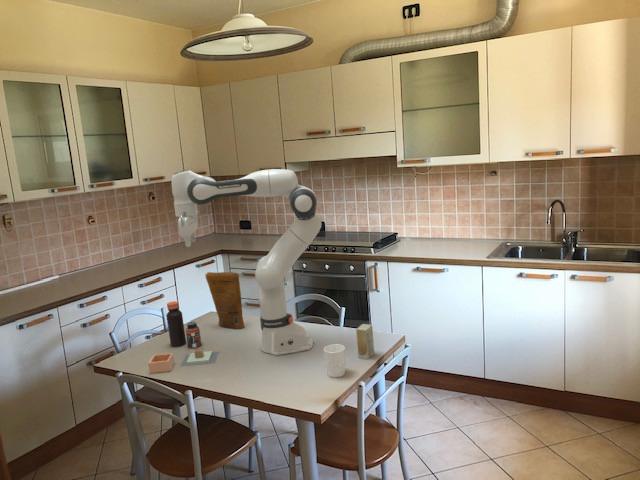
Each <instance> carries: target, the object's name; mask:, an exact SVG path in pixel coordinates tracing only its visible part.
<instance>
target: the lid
mask: <svg viewBox="0 0 640 480" xmlns="http://www.w3.org/2000/svg"><path fill="white" fill-rule="evenodd" d="M212 352H213V350H210V351H204V348H195V350H194V352H191V353H189V354H190V356H189V358H188V360H187V364H196V363H206V362H209V361H210V358H211V356H212Z"/></svg>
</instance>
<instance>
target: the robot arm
mask: <svg viewBox="0 0 640 480" xmlns="http://www.w3.org/2000/svg"><path fill="white" fill-rule="evenodd" d="M171 192H172V196H173V199H174V200H173V207H174V212H175V213H174V214H175V217H178V221H177V224H178V225H177V226H178V234H179V237H180V238H183V240H184V243H185V247H186V248H190V247H191V246H192V243H195V242H196V231H197V230H198V228H199V220H198V218H199V217H198V214H199V208H198V205H200V206H201V205H206V204H208V203H209V202H210V203H211V201H213V200H216V199H220V198H230V197H239V196H242V197H255V198H273V197H284V198H286V199H288V202H289V206H290V209H291V211H292V212H293V213H294V215H295V219H294V221H293V222H292V223H291V225H289V226H288V228H287V229H286V230H285V232H284V233H283V234H282V235H281V237H280V238H279V239H277V241H276V242H275V244H274V245H273V247H272V248H271V250H270V251H269V252H268V253H267V255H265V256H263V257H261V258H260V259H259V260H258V262H257V265H256V269H255V271H254V277H255V278H254V279H255V281H256V282H257V285H258V286H257V287H258V299H259V300H258V301H259V311H260V317H259V321H260V328H261V345H260V350H261V351H262V352H264V353H267V354H271V355H272V356H282V355H286V354H292V353H298V352H304V351H305V352H306V351H308V350H311V349H312V348H313V347H314V340H313V338H312V337H311V336H309V335H308V334H307V331H306V329H305V328H304V327H303V326H302V325H300V324H298V323H297V322H295V321H294V318H293V315H292V313H291V312H290V313H288V312H287V311H288V310H287V302H286V289H285V276H286V275H287V274H288V273H289V271H291V268H292V267H293V266H294V264H295V263H296V261H297V260H298V259H299V258H300V257H301V255H302V254H303V253H304V252H305V251H306V250H307V248H308V247H309V246H310V245H311V243H313V241H314V239H315V238H316V236H317V235H318V234H319V232H320V230H321V228H322V221H321V219H320V218H319V216H318V215H317V214H316V210H317V205H318V204H317V200H318V199H317V196H316V193H315V191H313V189H311V188H310V187H308V186H307V185H304V184H303V183H302V184H301V182H300V183H299V181H298V176H297V174H296V172H295V171H293V170H291V169H286V168H285V169H283V168H272V169H271V168H270V169H262V170H258V171H257V170H256V171H254V172H251V173H249V174H247V175H245V176H243V177H240V178H238V179H231V180H229V179H228V180H219V181H217V180H215V179H214V178H212V177H210V176H205V175H202V174H198V173H195V172H193V171H192V170H191V169H184V170H181V171H177V172H175V173H173V175H172V177H171Z"/></svg>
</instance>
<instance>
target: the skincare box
mask: <svg viewBox="0 0 640 480" xmlns="http://www.w3.org/2000/svg"><path fill="white" fill-rule="evenodd" d="M355 330H356V341H357V342H356V343H357V354H358V358H359V359H365V360H369V359H370V358H371V357H372V356H373V355H374V354H375V345H374V343H375V342H374V334H373V333H374V331H373V324H367V323H362V324H360V325H359V326H358V327H357V328H356V329H355Z"/></svg>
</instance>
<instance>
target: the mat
mask: <svg viewBox="0 0 640 480" xmlns="http://www.w3.org/2000/svg"><path fill="white" fill-rule="evenodd" d="M219 353H220V352H219V350H218V351H212V356H211V358H210V361H209V362H206V363H196V364H187V360H188V358H189V356H190V354H191V353H187V354H185V356H184V358H183V360H182V362H181V363H180V365H179V367H180V368H181V367H189V366H199V365H201V366H202V365H212V364H215V363H216V361H217V358H218V356H219Z"/></svg>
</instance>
